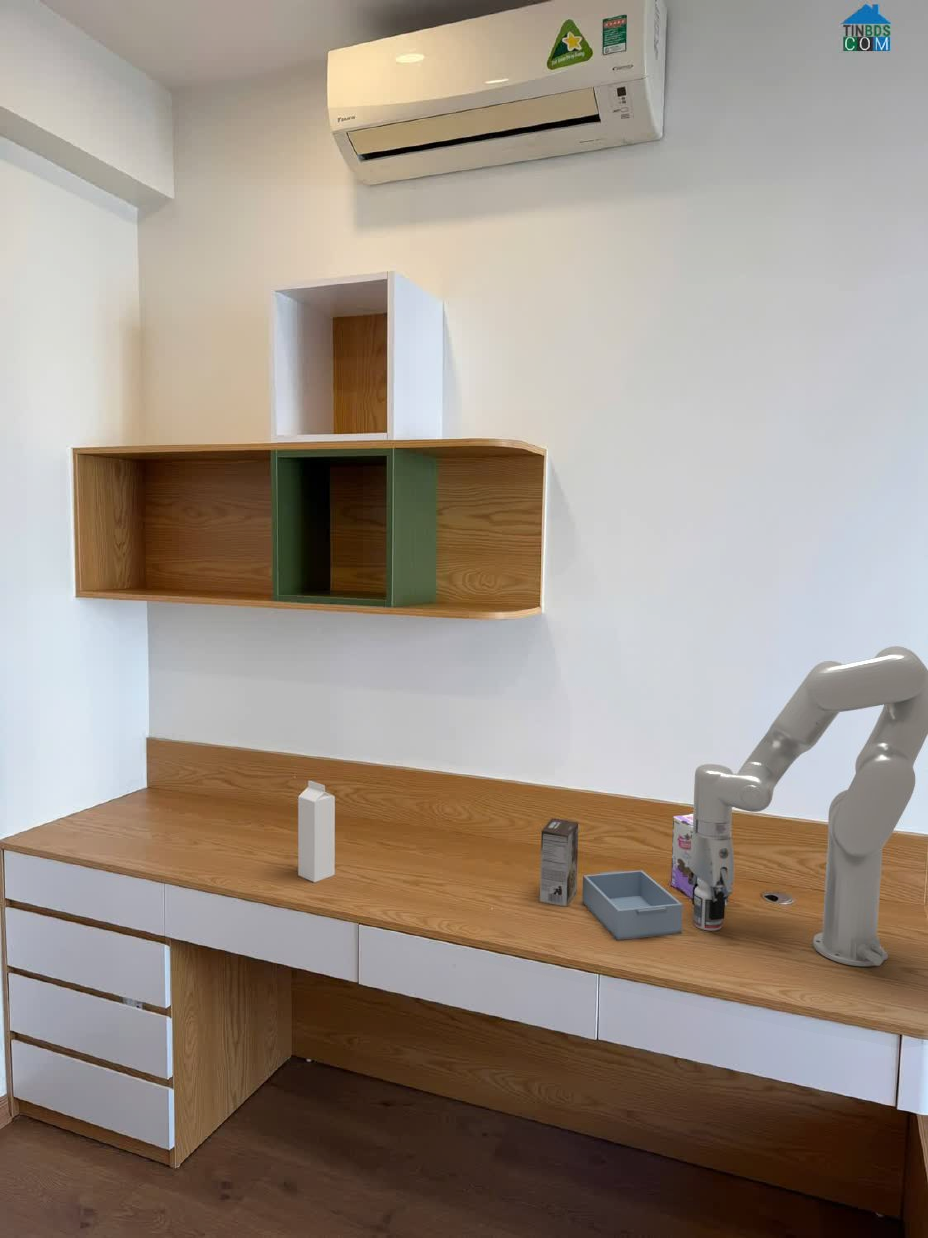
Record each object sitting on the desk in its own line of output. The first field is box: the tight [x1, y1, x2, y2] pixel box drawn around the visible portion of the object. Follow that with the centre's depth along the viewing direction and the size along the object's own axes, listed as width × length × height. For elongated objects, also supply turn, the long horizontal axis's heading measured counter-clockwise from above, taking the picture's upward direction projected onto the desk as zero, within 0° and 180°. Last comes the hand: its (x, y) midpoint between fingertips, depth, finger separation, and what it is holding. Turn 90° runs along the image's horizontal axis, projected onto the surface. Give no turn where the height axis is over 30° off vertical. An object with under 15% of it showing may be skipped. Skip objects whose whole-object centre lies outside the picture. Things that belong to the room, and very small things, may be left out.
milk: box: [297, 780, 336, 883], centre depth 195 cm, size 6×6×22 cm
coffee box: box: [539, 817, 579, 907], centre depth 186 cm, size 9×6×16 cm
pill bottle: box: [692, 877, 723, 932], centre depth 173 cm, size 6×6×10 cm
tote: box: [581, 870, 684, 941], centre depth 176 cm, size 20×14×6 cm
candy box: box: [670, 813, 732, 907], centre depth 188 cm, size 14×6×16 cm, turn 21°
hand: (708, 911), depth 173 cm, fingers closed on pill bottle, 5 cm apart
